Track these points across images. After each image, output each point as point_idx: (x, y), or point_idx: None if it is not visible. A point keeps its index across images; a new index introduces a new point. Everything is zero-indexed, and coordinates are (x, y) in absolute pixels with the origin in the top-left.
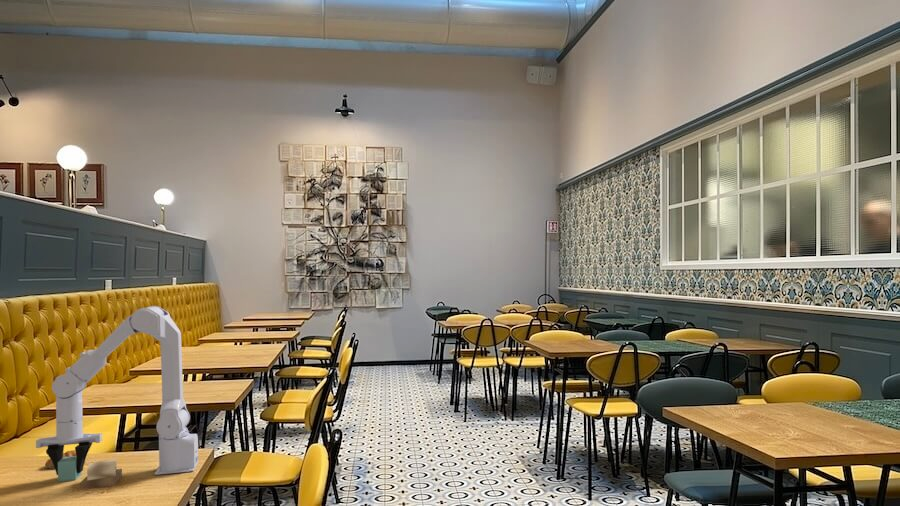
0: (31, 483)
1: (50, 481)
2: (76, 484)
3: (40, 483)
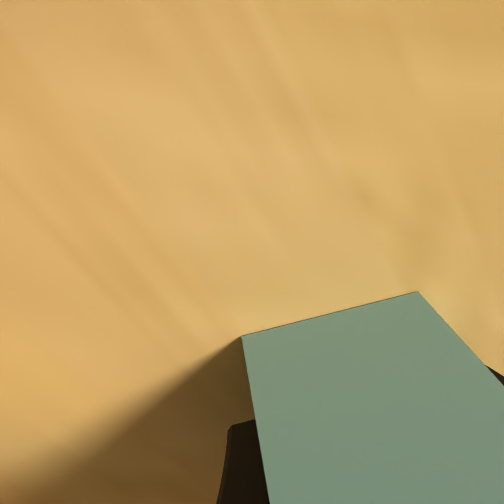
0: (22, 497)
1: (187, 452)
2: None
3: (122, 493)
